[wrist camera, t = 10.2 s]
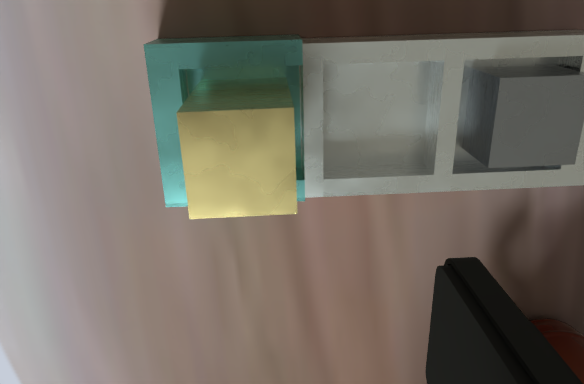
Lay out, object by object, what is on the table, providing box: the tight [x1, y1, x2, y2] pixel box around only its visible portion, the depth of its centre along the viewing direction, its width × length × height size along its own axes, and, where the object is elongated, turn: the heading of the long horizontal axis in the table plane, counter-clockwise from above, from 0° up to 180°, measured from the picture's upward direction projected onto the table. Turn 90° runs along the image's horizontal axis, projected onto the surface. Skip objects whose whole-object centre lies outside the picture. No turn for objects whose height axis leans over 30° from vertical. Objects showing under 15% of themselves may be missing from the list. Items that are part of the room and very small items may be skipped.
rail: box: [144, 30, 584, 207], centre depth 26 cm, size 23×8×3 cm, turn 91°
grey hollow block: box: [462, 65, 584, 168], centre depth 25 cm, size 4×4×4 cm
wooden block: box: [176, 77, 297, 219], centre depth 23 cm, size 4×4×8 cm
